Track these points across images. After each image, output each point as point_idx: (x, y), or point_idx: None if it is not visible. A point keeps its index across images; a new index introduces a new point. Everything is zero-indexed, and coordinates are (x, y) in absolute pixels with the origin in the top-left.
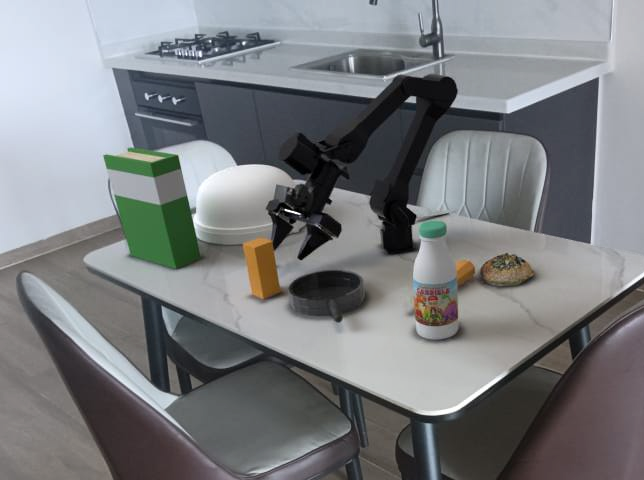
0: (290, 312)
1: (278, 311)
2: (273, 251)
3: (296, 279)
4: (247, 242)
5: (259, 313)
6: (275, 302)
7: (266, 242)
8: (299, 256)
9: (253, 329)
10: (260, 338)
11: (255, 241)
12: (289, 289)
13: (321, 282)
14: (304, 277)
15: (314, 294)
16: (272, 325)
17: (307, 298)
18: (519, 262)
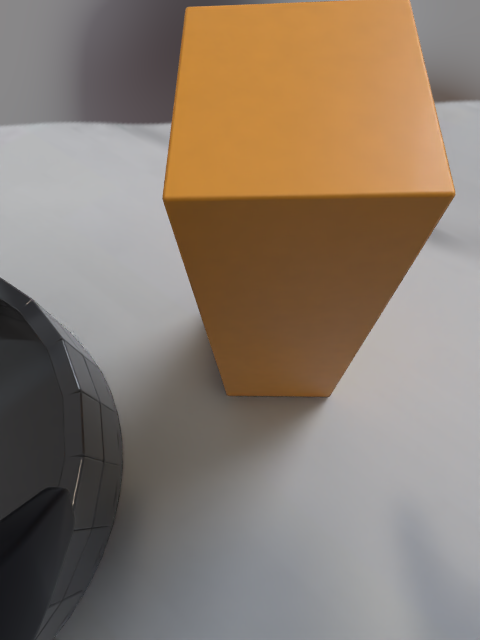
0: (37, 299)
1: (93, 275)
2: (188, 271)
3: (73, 411)
4: (400, 32)
5: (152, 223)
6: (174, 320)
7: (193, 137)
8: (31, 501)
9: (72, 148)
10: (4, 131)
11: (347, 85)
12: (16, 293)
13: None
14: (61, 482)
15: (27, 482)
16: (29, 198)
17: (31, 422)
18: None
